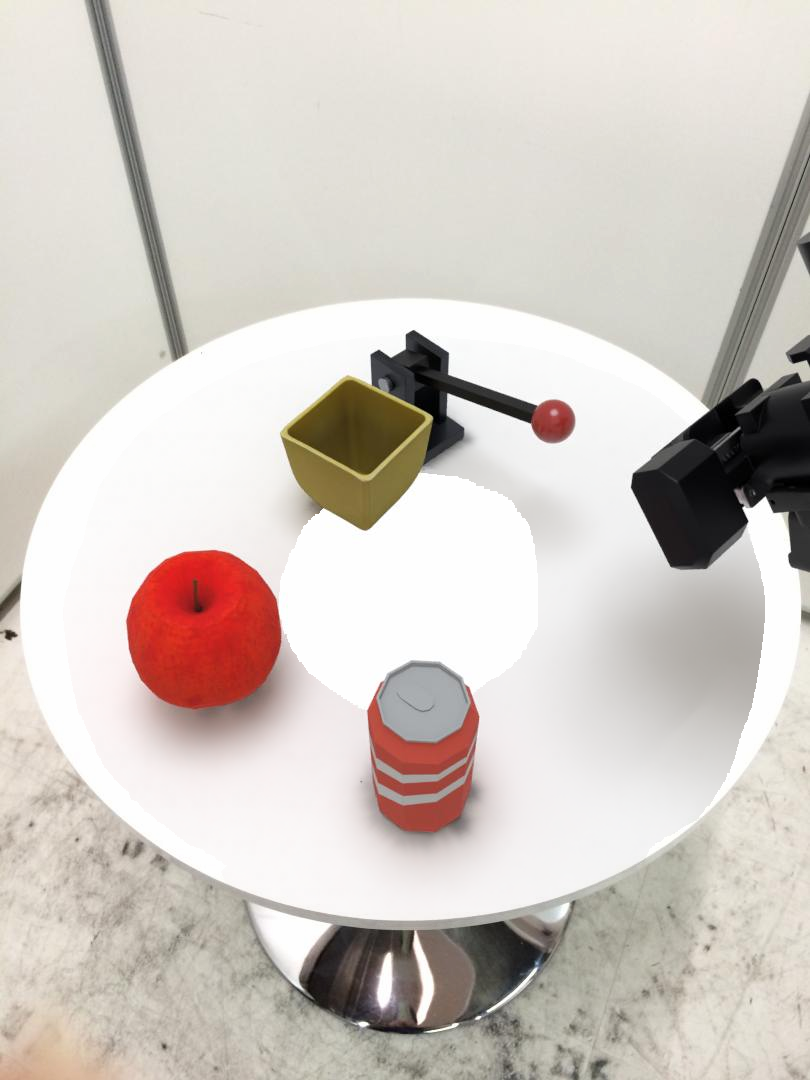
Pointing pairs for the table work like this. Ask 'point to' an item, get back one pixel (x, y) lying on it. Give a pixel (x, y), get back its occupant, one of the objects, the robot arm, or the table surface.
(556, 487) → the table surface
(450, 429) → the bracket
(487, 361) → the table surface
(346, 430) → the flower pot
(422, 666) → the beverage can
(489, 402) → the lever
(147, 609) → the apple
